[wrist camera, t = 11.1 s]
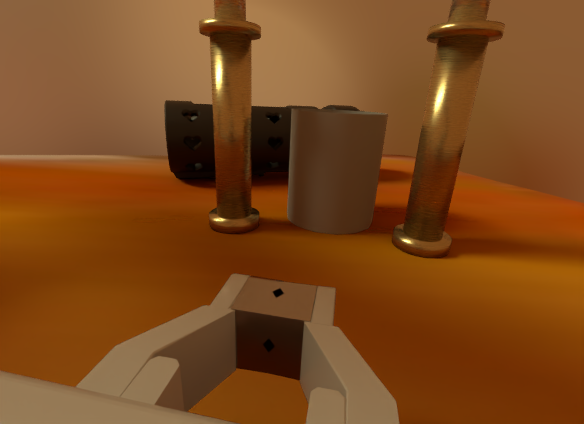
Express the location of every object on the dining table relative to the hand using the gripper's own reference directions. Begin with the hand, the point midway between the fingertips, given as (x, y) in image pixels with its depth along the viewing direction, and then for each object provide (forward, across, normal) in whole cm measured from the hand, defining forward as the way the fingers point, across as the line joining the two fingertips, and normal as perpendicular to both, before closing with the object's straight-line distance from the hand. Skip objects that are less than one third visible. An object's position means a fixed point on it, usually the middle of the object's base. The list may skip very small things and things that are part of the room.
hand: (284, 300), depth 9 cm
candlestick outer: (+17, -8, +5) cm, 20 cm away
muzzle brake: (+36, +9, +6) cm, 38 cm away
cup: (+21, 0, +6) cm, 22 cm away
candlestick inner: (+17, +8, +5) cm, 20 cm away
